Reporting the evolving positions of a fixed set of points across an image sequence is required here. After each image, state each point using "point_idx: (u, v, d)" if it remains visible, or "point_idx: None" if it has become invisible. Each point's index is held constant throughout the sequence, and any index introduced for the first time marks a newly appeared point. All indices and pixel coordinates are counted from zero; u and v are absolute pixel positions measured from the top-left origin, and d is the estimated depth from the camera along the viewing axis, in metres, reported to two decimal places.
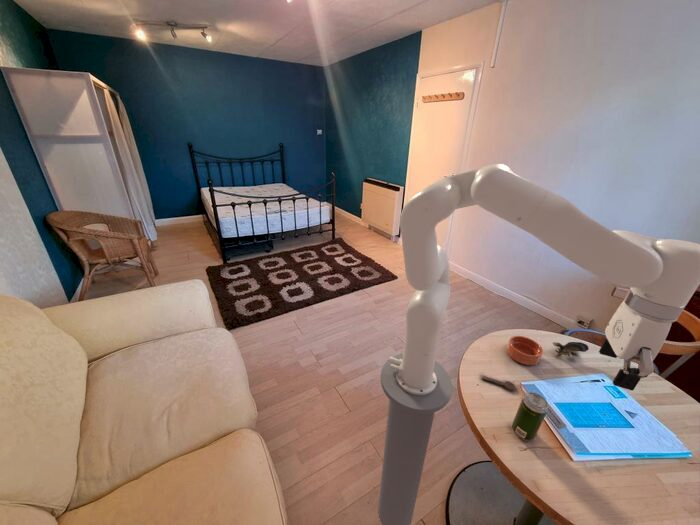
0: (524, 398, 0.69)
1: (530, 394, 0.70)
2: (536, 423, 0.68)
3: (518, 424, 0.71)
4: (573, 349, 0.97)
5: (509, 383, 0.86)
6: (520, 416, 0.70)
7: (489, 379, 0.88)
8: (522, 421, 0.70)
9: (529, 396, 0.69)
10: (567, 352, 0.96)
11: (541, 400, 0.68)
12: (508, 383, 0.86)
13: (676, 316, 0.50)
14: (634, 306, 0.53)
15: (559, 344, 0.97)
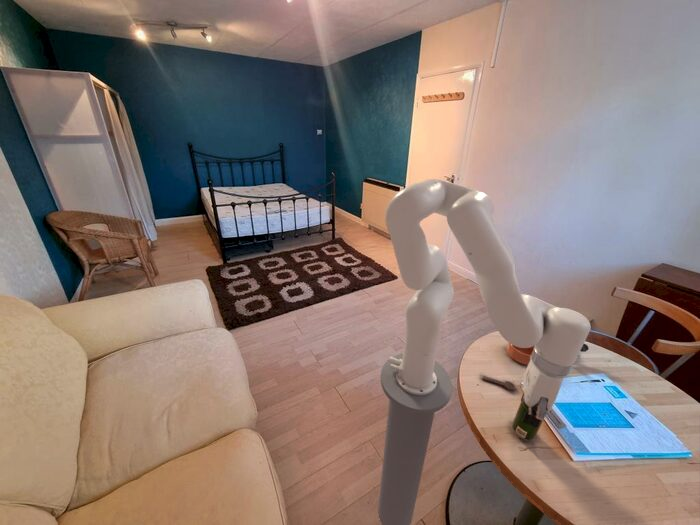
0: (524, 397, 0.70)
1: None
2: None
3: (518, 424, 0.71)
4: None
5: (509, 383, 0.86)
6: (520, 416, 0.70)
7: (489, 379, 0.88)
8: None
9: None
10: None
11: None
12: (508, 383, 0.86)
13: (566, 373, 0.60)
14: (535, 362, 0.63)
15: None
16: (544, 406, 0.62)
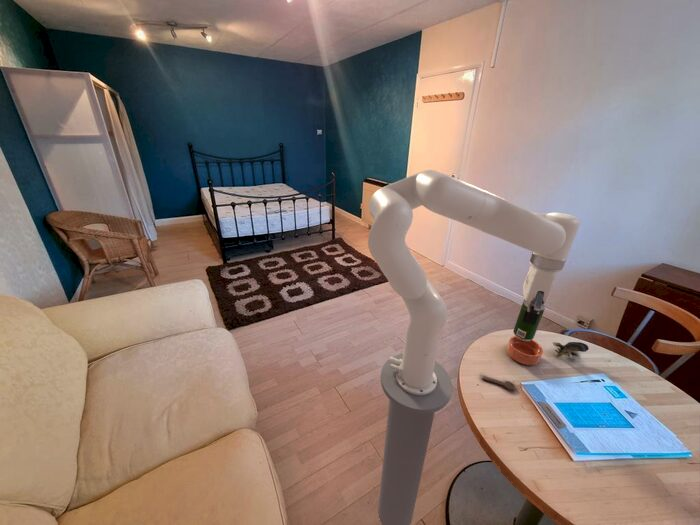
0: (524, 301, 0.80)
1: None
2: None
3: (519, 326, 0.82)
4: (573, 349, 0.97)
5: (509, 383, 0.86)
6: (520, 318, 0.81)
7: (489, 379, 0.88)
8: (522, 322, 0.81)
9: None
10: (567, 352, 0.96)
11: None
12: (508, 383, 0.86)
13: (559, 267, 0.71)
14: (533, 262, 0.73)
15: (559, 344, 0.97)
16: (540, 298, 0.73)
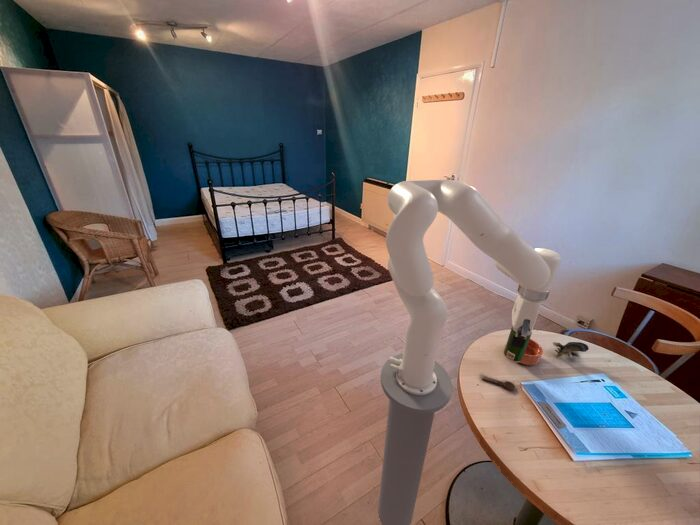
0: None
1: None
2: None
3: (508, 349, 0.89)
4: (573, 349, 0.97)
5: (509, 383, 0.86)
6: (510, 341, 0.88)
7: (489, 379, 0.88)
8: (511, 345, 0.87)
9: None
10: (567, 352, 0.96)
11: None
12: (508, 383, 0.86)
13: (543, 298, 0.77)
14: (520, 292, 0.80)
15: (559, 344, 0.97)
16: (527, 326, 0.79)
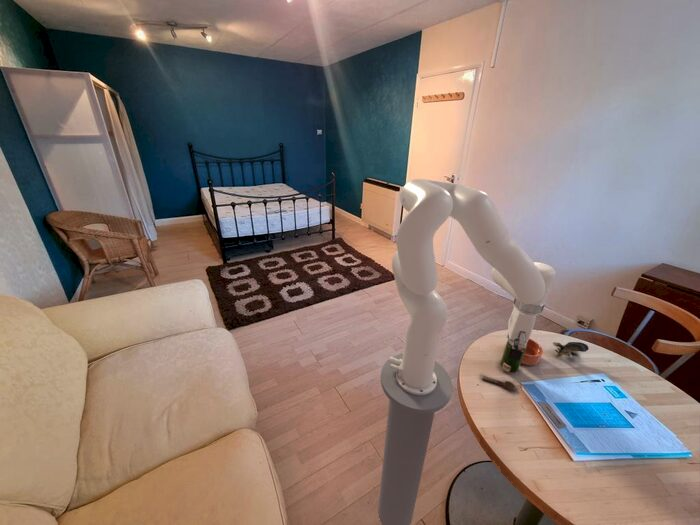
0: (509, 339, 0.89)
1: None
2: None
3: (504, 361, 0.91)
4: (573, 349, 0.97)
5: (509, 383, 0.86)
6: (506, 354, 0.90)
7: (489, 379, 0.88)
8: (507, 357, 0.89)
9: None
10: (567, 352, 0.96)
11: None
12: (508, 383, 0.86)
13: (539, 311, 0.79)
14: (516, 305, 0.82)
15: (559, 344, 0.97)
16: (523, 336, 0.80)
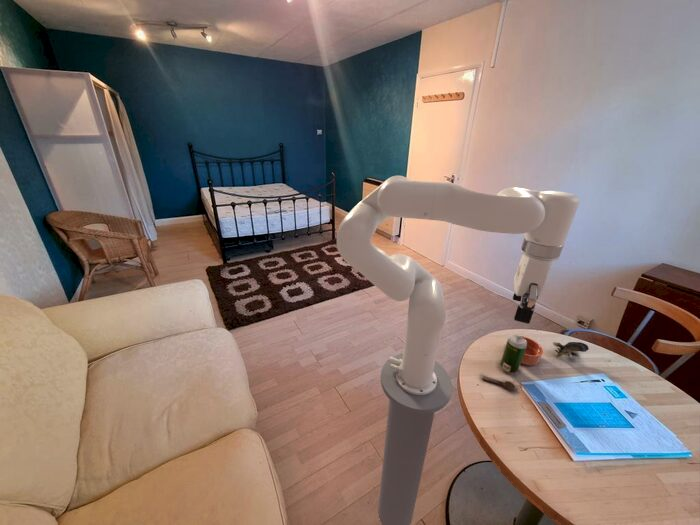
0: (508, 339, 0.89)
1: (513, 336, 0.89)
2: (518, 358, 0.87)
3: (504, 361, 0.91)
4: (573, 349, 0.97)
5: (509, 383, 0.86)
6: (506, 354, 0.90)
7: (489, 379, 0.88)
8: (507, 357, 0.89)
9: (512, 337, 0.89)
10: (567, 352, 0.96)
11: (522, 340, 0.88)
12: (508, 383, 0.86)
13: (555, 255, 0.60)
14: (525, 249, 0.63)
15: (559, 344, 0.97)
16: (535, 289, 0.61)
